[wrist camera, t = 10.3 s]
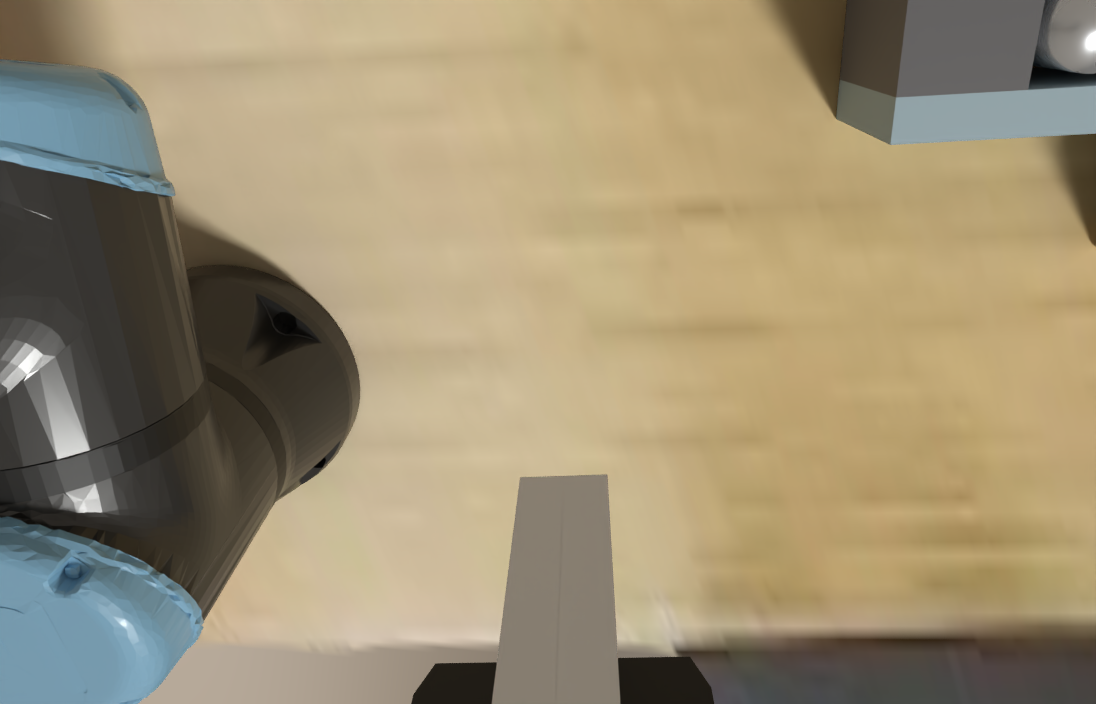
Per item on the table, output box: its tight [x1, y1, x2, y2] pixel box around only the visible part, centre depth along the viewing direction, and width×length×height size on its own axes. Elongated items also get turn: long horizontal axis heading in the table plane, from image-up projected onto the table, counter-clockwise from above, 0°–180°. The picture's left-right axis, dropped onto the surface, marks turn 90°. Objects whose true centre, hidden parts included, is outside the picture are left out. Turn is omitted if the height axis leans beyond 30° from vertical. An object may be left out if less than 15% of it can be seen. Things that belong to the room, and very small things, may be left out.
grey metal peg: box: [1033, 0, 1096, 74], centre depth 35 cm, size 4×4×8 cm
